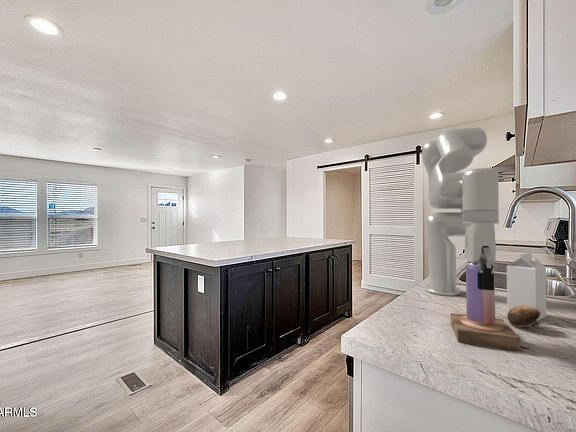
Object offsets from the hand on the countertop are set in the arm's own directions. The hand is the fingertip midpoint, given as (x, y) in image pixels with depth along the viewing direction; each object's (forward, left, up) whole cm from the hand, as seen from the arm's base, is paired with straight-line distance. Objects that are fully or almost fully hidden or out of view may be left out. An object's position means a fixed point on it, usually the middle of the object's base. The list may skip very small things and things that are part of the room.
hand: (480, 284), depth 69 cm
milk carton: (-21, +16, -13) cm, 29 cm away
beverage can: (0, 0, -10) cm, 10 cm away
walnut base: (0, 0, -13) cm, 13 cm away
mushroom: (-11, +12, -13) cm, 21 cm away
